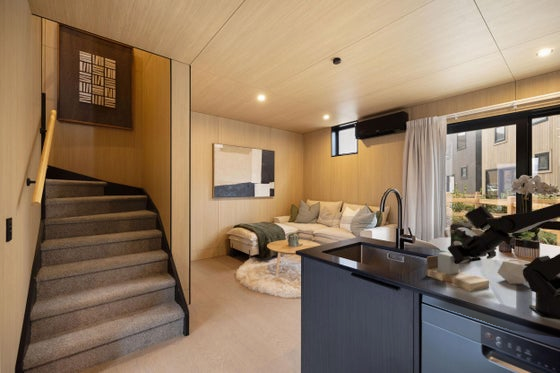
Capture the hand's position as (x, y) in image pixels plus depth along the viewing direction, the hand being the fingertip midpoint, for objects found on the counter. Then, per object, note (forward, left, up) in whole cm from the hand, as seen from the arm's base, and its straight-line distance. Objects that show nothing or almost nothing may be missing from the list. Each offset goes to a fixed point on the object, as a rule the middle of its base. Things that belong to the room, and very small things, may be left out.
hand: (455, 262), depth 98 cm
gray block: (+2, +2, -4) cm, 5 cm away
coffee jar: (+33, -11, -7) cm, 35 cm away
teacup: (+17, -28, -7) cm, 34 cm away
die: (+6, -20, -7) cm, 22 cm away
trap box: (0, 0, -7) cm, 7 cm away
